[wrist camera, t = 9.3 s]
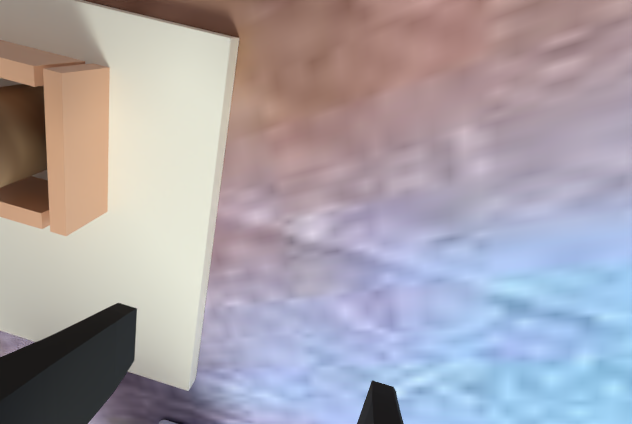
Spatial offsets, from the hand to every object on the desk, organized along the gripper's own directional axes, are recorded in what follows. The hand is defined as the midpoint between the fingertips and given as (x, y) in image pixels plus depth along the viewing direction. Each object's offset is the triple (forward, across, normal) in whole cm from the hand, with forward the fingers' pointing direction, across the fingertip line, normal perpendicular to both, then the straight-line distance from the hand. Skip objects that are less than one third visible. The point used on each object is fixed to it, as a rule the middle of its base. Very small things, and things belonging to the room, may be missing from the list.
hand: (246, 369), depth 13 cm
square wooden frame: (+10, +14, -2) cm, 17 cm away
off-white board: (+10, +12, +2) cm, 16 cm away
